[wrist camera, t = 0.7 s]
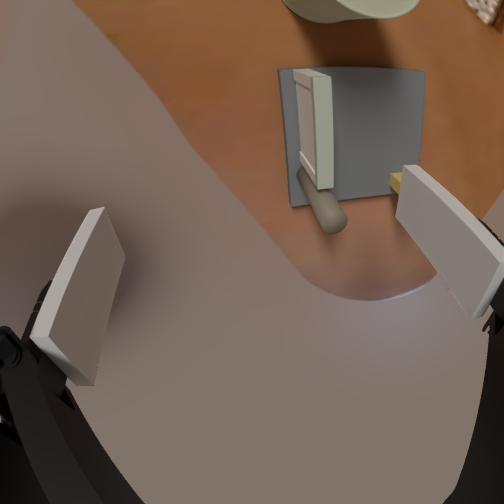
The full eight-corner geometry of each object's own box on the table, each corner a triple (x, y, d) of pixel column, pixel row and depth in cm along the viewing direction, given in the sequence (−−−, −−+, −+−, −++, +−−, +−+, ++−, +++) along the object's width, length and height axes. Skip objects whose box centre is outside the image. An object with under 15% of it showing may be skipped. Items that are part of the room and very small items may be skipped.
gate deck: (419, 70, 27) (483, 92, 18) (410, 187, 37) (455, 235, 28) (277, 69, 27) (306, 83, 18) (289, 201, 37) (312, 261, 28)
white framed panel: (313, 159, 32) (333, 187, 27) (299, 160, 32) (317, 189, 27) (307, 68, 26) (331, 76, 20) (292, 69, 26) (312, 77, 20)
